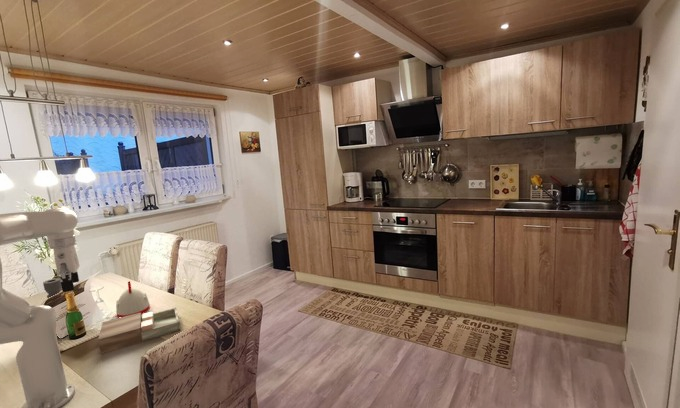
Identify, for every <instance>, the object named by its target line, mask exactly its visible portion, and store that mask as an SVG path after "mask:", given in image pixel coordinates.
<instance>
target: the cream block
mask: <svg viewBox="0 0 680 408" xmlns="http://www.w3.org/2000/svg"><path fill="white" fill-rule="evenodd" d="M153 313H154V311H152V310H151V311H147V312H145V313H143V314H141V316H142V321H147V320H150V319H152V321H153V327H154V316H153Z"/></svg>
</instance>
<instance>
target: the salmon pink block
mask: <svg viewBox="0 0 680 408" xmlns="http://www.w3.org/2000/svg"><path fill="white" fill-rule="evenodd" d="M152 328H154V327H153V321H152V319H150V320H147V321H143V322H141V330H142V331H145V330H149V329H152Z"/></svg>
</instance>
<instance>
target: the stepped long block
mask: <svg viewBox="0 0 680 408" xmlns="http://www.w3.org/2000/svg"><path fill="white" fill-rule="evenodd" d="M153 316H154V328H152V329H149V330H145V331H142V330H141V322H143V321H142V314H141V313H137V314H133V315H129V316H125V317H121V318H119V317H117V318H114V319H109V320H106V321H103V322H102V323H101V326H100V327H101V328H100V331H99V335H98V338H97V341H98V347H99V353H100V355H102V354H105V353H108V352H112V351H116V350H118V349H122V348H125V347H129V346H132V345H135V344H139V343H141V342H146V341H149V340H152V339H155V338H156V339H157V338H159V337H162V336H166V335H169V334H172V333H176V332H179V331H181V326H180V320H179V315H178V311H177V307H173V308H170V309H166V310H162V311H158V312H153Z"/></svg>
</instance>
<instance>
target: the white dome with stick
mask: <svg viewBox="0 0 680 408" xmlns="http://www.w3.org/2000/svg"><path fill="white" fill-rule="evenodd" d="M127 287H128V288H127V289H125V290H124V291H123V292H122V293H121V295H120V296H119V299H117V300H116V306H115V307H116V308H115V309H116V311H115V312H116V317H117V316H118V317H117V318H119V317H125V316H129V315H133V314H137V313H141V315H142V314H144V313H147V312H149V310H150V309H151V304H150V301H149V298H148V296H147V294H146V293H145V292H144V293H143V291H141V290H140V289H138V288H135V287H132V283H131V281H130V280H129V281H127Z"/></svg>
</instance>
